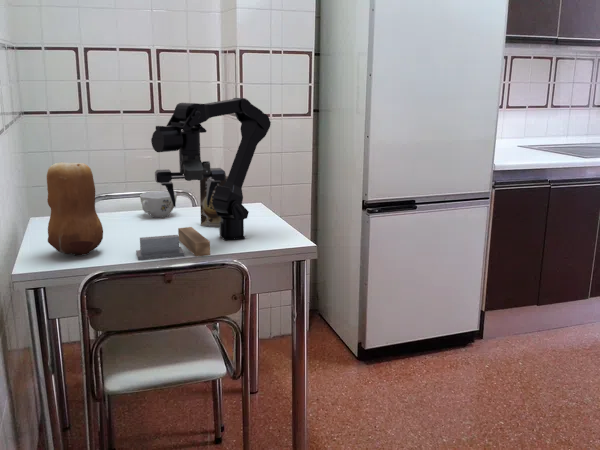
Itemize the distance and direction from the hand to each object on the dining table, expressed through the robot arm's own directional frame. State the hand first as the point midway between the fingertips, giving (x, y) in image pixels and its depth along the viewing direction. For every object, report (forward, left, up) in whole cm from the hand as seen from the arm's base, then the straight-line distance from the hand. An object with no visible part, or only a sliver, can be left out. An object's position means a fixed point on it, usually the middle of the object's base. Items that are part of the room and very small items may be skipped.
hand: (191, 205), depth 160 cm
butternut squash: (+31, -3, -12) cm, 33 cm away
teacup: (+5, -42, -12) cm, 44 cm away
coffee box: (-12, -24, -12) cm, 29 cm away
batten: (0, 0, -12) cm, 12 cm away
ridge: (+10, +5, -12) cm, 16 cm away
